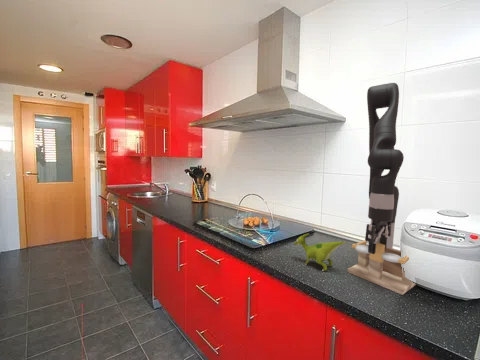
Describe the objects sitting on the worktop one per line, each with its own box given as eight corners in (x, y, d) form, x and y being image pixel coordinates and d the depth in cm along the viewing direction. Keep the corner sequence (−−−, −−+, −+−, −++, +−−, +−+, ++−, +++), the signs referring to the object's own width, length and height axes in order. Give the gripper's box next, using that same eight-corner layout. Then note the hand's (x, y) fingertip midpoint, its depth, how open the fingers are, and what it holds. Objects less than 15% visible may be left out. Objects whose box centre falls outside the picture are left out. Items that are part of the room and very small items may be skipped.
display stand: (363, 264, 102) (365, 240, 101) (416, 284, 87) (419, 255, 86) (347, 272, 95) (349, 245, 94) (402, 294, 80) (405, 263, 79)
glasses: (362, 248, 99) (363, 233, 99) (413, 263, 85) (414, 247, 85) (348, 253, 93) (350, 238, 92) (401, 271, 79) (402, 253, 78)
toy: (310, 269, 106) (296, 236, 110) (358, 258, 94) (340, 221, 97) (302, 276, 100) (287, 241, 104) (351, 264, 87) (333, 225, 91)
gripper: (379, 202, 93) (375, 244, 94) (360, 206, 84) (356, 251, 86) (401, 206, 87) (397, 250, 88) (383, 210, 78) (379, 258, 80)
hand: (377, 250), depth 87 cm, fingers open, 8 cm apart
